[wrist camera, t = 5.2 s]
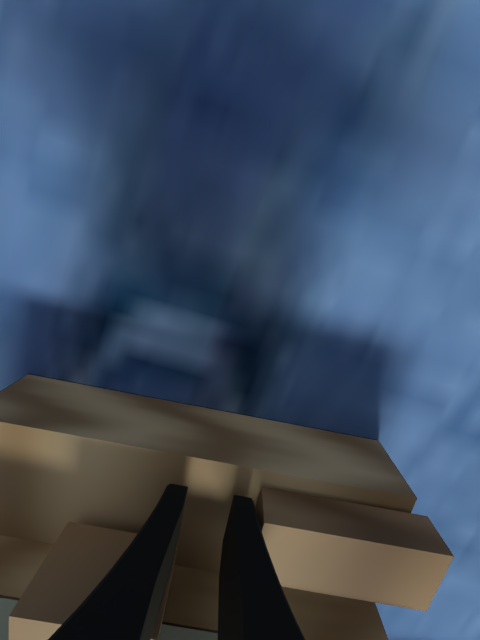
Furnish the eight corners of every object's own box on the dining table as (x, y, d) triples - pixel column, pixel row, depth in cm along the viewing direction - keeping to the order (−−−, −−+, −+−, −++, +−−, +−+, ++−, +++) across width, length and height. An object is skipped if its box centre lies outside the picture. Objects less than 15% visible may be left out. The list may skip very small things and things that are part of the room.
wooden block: (247, 539, 11) (248, 581, 10) (261, 486, 10) (264, 522, 9) (404, 566, 11) (426, 611, 10) (427, 516, 11) (454, 556, 9)
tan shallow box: (21, 637, 18) (-64, 788, 13) (28, 374, 13) (-97, 450, 8) (289, 680, 18) (305, 840, 13) (378, 440, 14) (450, 548, 9)
